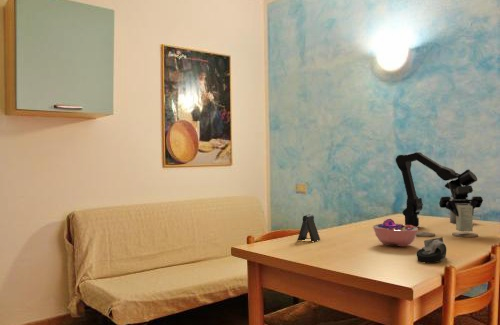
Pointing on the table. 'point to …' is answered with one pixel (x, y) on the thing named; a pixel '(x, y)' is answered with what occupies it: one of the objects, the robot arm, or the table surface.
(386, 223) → the cell model
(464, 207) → the skincare box
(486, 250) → the table surface
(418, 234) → the coaster
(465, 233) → the walnut coaster
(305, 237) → the black folding stand
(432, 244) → the caster wheel
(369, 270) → the table surface
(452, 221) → the pillar candle
